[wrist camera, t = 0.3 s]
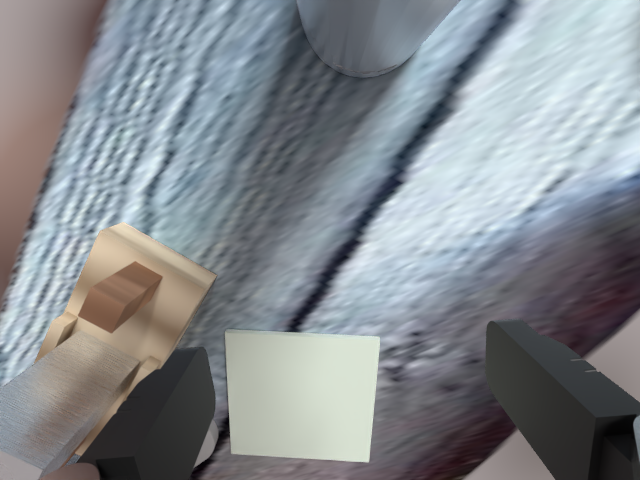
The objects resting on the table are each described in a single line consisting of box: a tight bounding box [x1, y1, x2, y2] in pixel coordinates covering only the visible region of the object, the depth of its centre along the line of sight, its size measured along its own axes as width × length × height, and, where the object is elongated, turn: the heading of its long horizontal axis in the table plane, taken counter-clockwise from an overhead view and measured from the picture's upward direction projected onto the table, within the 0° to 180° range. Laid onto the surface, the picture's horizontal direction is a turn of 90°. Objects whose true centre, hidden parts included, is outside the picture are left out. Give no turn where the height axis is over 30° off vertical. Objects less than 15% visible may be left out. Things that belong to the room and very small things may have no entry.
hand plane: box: [34, 222, 217, 468], centre depth 28 cm, size 22×9×8 cm, turn 148°
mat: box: [225, 329, 380, 462], centre depth 32 cm, size 14×14×1 cm
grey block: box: [0, 330, 140, 480], centre depth 24 cm, size 4×6×10 cm
